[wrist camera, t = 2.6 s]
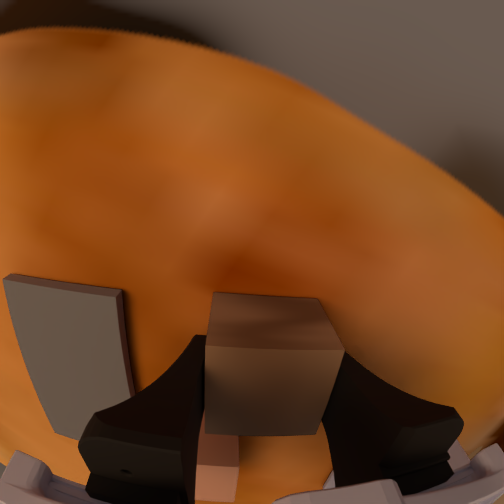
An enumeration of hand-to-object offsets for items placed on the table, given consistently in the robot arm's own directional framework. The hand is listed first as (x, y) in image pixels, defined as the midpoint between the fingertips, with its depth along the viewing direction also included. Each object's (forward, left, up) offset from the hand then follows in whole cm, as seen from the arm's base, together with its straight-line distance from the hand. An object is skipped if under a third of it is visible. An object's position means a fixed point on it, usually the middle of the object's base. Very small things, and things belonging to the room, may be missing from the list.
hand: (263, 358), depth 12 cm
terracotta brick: (+3, +8, -2) cm, 8 cm away
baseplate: (+10, +4, -1) cm, 11 cm away
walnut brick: (0, 0, -1) cm, 1 cm away
